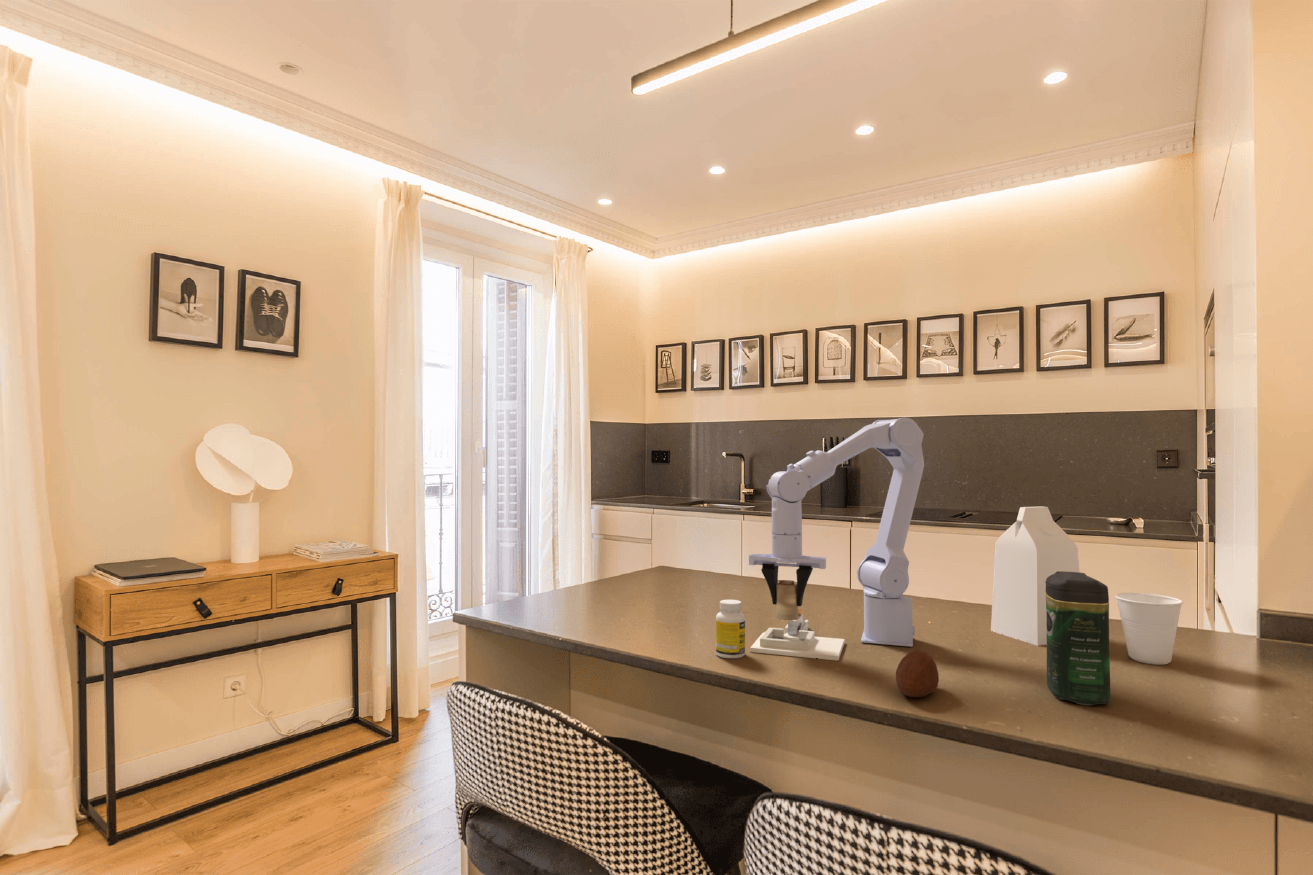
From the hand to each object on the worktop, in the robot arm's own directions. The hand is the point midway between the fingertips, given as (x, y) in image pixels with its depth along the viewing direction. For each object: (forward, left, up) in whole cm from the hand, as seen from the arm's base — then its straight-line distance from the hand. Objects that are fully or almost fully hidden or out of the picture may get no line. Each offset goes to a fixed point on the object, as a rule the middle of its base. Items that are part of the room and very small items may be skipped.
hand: (787, 604), depth 131 cm
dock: (-2, -5, -8) cm, 10 cm away
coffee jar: (-46, +12, -8) cm, 48 cm away
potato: (-23, +19, -8) cm, 31 cm away
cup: (-62, -13, -8) cm, 64 cm away
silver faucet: (0, -10, -8) cm, 12 cm away
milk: (-46, -25, -8) cm, 53 cm away
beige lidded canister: (0, 0, -2) cm, 3 cm away
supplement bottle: (+9, +9, -8) cm, 15 cm away
